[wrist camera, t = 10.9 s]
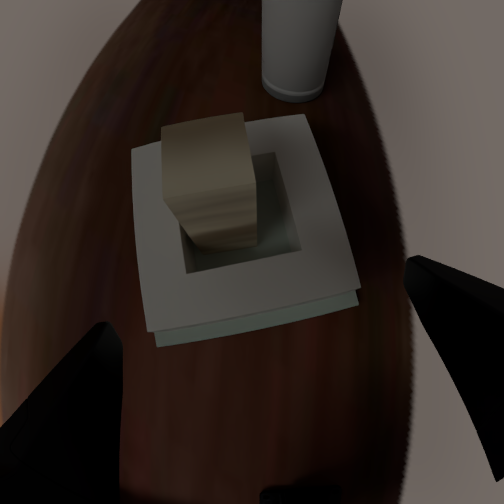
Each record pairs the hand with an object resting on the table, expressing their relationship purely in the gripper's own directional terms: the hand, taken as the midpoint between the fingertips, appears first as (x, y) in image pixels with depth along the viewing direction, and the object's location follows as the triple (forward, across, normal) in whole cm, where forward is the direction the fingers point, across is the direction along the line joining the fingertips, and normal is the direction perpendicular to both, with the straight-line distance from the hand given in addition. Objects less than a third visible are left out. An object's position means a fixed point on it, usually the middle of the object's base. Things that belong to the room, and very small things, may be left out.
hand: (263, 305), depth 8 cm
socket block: (+14, 0, +5) cm, 15 cm away
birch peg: (+14, +1, +4) cm, 15 cm away
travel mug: (+25, -8, -5) cm, 27 cm away
